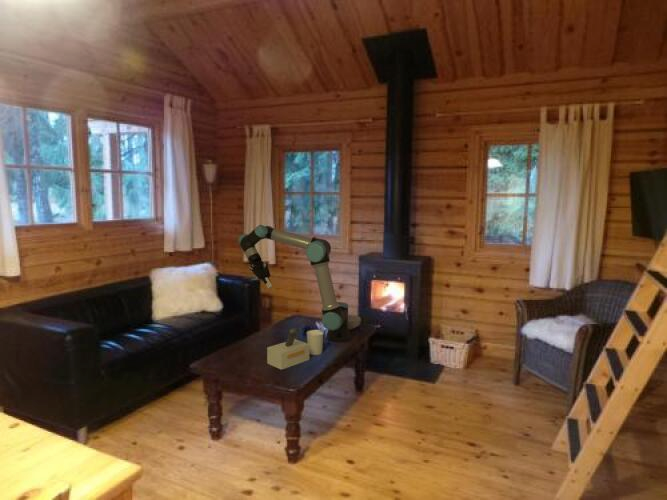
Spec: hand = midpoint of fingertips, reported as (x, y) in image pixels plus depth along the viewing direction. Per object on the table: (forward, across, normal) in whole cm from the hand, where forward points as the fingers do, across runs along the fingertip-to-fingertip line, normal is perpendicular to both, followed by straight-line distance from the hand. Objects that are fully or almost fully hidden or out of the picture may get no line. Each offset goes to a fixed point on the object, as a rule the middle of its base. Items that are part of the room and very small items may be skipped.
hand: (270, 287), depth 272 cm
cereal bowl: (+31, -60, -20) cm, 71 cm away
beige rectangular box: (+44, +8, -7) cm, 45 cm away
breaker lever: (+37, +8, 0) cm, 38 cm away
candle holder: (+44, -12, -7) cm, 46 cm away
